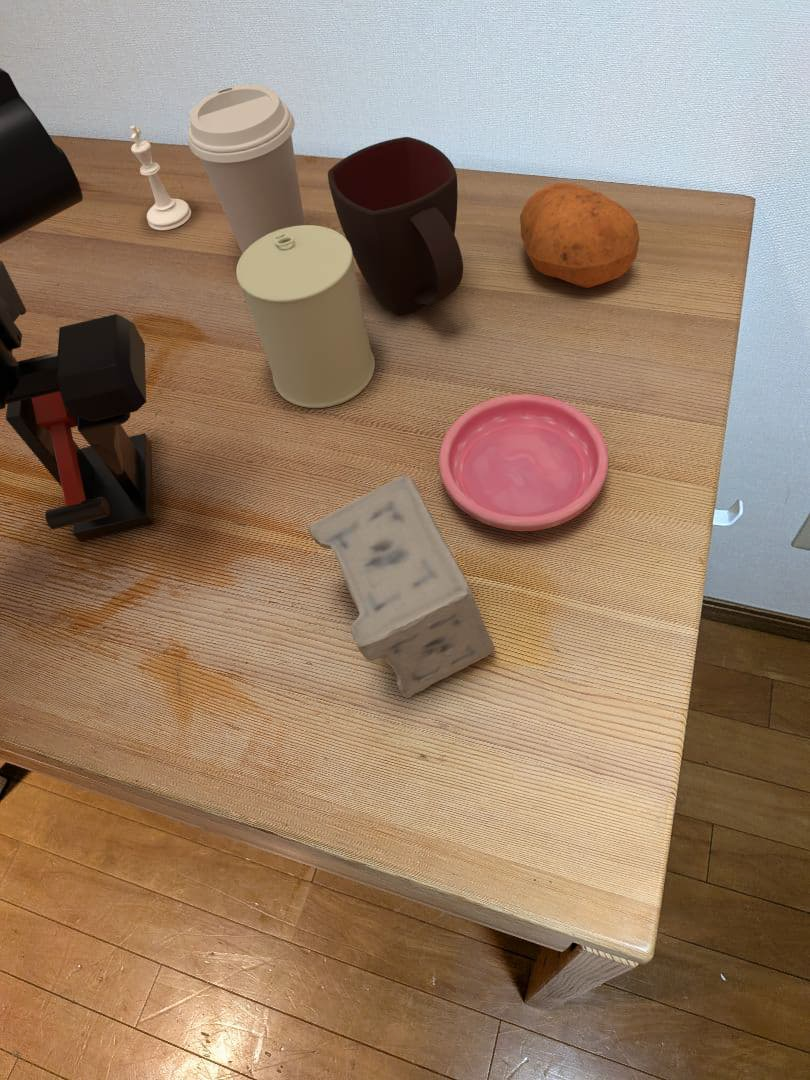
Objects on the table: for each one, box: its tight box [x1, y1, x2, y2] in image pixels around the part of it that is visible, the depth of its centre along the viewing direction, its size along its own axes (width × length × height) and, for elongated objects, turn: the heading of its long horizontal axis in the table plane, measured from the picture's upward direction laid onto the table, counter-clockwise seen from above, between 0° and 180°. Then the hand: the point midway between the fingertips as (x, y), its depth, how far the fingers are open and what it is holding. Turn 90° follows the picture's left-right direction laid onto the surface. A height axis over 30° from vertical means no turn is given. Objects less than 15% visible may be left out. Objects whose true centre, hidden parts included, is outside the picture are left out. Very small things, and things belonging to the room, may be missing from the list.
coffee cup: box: [187, 84, 306, 254], centre depth 70 cm, size 10×10×15 cm
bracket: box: [5, 398, 154, 542], centre depth 57 cm, size 9×6×12 cm, turn 12°
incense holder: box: [308, 474, 496, 699], centre depth 47 cm, size 10×8×10 cm
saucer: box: [438, 393, 609, 532], centre depth 56 cm, size 12×12×3 cm
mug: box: [327, 136, 464, 316], centre depth 65 cm, size 10×14×12 cm
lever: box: [31, 391, 110, 531], centre depth 53 cm, size 10×4×2 cm, turn 13°
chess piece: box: [129, 125, 192, 231], centre depth 79 cm, size 5×5×10 cm
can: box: [235, 224, 376, 409], centre depth 61 cm, size 9×9×12 cm
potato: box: [519, 182, 640, 288], centre depth 67 cm, size 9×11×8 cm
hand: (53, 485), depth 50 cm, fingers open, 9 cm apart
